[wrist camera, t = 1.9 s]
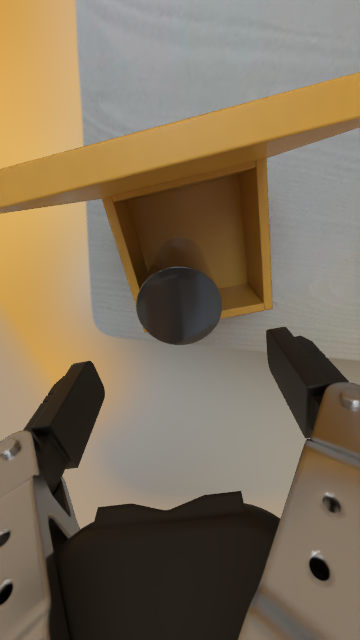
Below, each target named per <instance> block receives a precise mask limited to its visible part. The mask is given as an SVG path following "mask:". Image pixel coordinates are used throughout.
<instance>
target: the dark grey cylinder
mask: <svg viewBox="0 0 360 640" xmlns="http://www.w3.org/2000/svg"><path fill="white" fill-rule="evenodd" d="M136 309H137V315H138V318H139V320H140V322H141V324H142V326H143V327H144V328H145V330H146V331H147V332H148V333H149V334H150V335H152V336H153V337H154V338H156V339H158V340H160V341H162V342H165V343H168V344H174V345H185V344H190V343H194V342H197V341H199V340H201V339H203V338H204V337H206V336H207V335H208V334H209V333H210V332H211V331H212V330H213V329H214V328H215V326H216V325H217V323H218V321H219V319H220V316H221V312H222V299H221V294H220V292H219V289H218V287H217V284H216V282H215V280H214V277H213V275H212V273H211V270H210V268H209V265H208V263H207V261H206V258H205V256H204V253H203V251H202V250H201V248H200V247H199V246H198V245H197V244H196V243H195V242H193V241H191V240H189V239H186V238H173V239H170V240H168V241H166V242H165V243H163V244H162V245H161V246H160V247H159V249H158V250H157V252H156V254H155V256H154V258H153V261H152V263H151V265H150V267H149V270H148V272H147V274H146V277H145V279H144V281H143V283H142V286H141V288H140V290H139V293H138V296H137V301H136Z"/></svg>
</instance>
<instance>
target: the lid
mask: <svg viewBox="0 0 360 640" xmlns="http://www.w3.org/2000/svg"><path fill="white" fill-rule="evenodd" d="M359 127H360V72H359V73H355V74H351V75H347V76H344V77H340V78H336V79H333V80H329V81H325V82H321V83H318V84H314V85H310V86H307V87H303V88H299V89H295V90H292V91H288V92H284V93H281V94H277V95H273V96H270V97H266V98H262V99H258V100H255V101H251V102H247V103H244V104H240V105H236V106H232V107H229V108H225V109H221V110H218V111H214V112H210V113H206V114H203V115H199V116H195V117H192V118H188V119H184V120H180V121H177V122H173V123H169V124H166V125H162V126H158V127H154V128H151V129H147V130H143V131H140V132H136V133H132V134H129V135H125V136H121V137H117V138H114V139H110V140H106V141H103V142H99V143H95V144H91V145H88V146H84V147H80V148H77V149H73V150H69V151H65V152H62V153H58V154H54V155H51V156H47V157H43V158H40V159H36V160H32V161H28V162H25V163H21V164H17V165H14V166H10V167H6V168H2V169H0V213H7V212H13V211H21V210H27V209H34V208H41V207H48V206H54V205H62V204H68V203H75V202H82V201H89V200H96V199H102V198H106V197H110V196H114V195H118V194H122V193H126V192H130V191H134V190H138V189H142V188H146V187H150V186H155V185H159V184H163V183H167V182H171V181H175V180H179V179H183V178H187V177H191V176H195V175H199V174H203V173H207V172H212V171H216V170H220V169H224V168H228V167H232V166H236V165H240V164H244V163H248V162H252V161H256V160H260V159H264V158H268V157H271V156H274V155H277V154H280V153H283V152H286V151H290V150H293V149H296V148H299V147H302V146H305V145H308V144H311V143H314V142H317V141H320V140H323V139H326V138H329V137H332V136H335V135H338V134H341V133H344V132H347V131H350V130H353V129H356V128H359Z"/></svg>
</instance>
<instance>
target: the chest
mask: <svg viewBox="0 0 360 640" xmlns="http://www.w3.org/2000/svg"><path fill="white" fill-rule="evenodd" d="M102 201H103V204H104V207H105V210H106V213H107V216H108V220H109V223H110V226H111V229H112V232H113V235H114V238H115V241H116V244H117V248H118V251H119V254H120V257H121V260H122V263H123V266H124V269H125V272H126V276H127V279H128V282H129V285H130V288H131V291H132V294H133V297H134V301H135V304H136V301H137V296H138V293H139V290H140V288H141V286H142V283H143V281H144V279H145V277H146V274H147V272H148V270H149V267H150V265H151V263H152V261H153V258H154V256H155V254H156V252H157V250H158V249H159V247H160V246H161V245H162V244H163V243H165V242H166V241H168V240H170V239H173V238H186V239H189V240H191V241H193V242H195V243H196V244H197V245H198V246H199V247H200V248H201V250H202V251H203V253H204V256H205V258H206V261H207V263H208V265H209V268H210V270H211V273H212V275H213V277H214V280H215V282H216V284H217V287H218V289H219V292H220V294H221V299H222V312H221V316H220V319H221V318H226V317H232V316H237V315H243V314H248V313H253V312H259V311H264V310H269V309H272V308H273V304H272V280H271V256H270V232H269V207H268V183H267V159H266V158H264V159H260V160H256V161H252V162H248V163H244V164H240V165H236V166H232V167H228V168H224V169H220V170H216V171H212V172H207V173H203V174H199V175H195V176H191V177H187V178H183V179H179V180H175V181H171V182H167V183H163V184H159V185H155V186H150V187H146V188H142V189H138V190H134V191H130V192H126V193H122V194H118V195H114V196H110V197H106V198H102ZM143 329H144V332H145V333H146V332H147V331H146V330H145V328H144V327H143Z"/></svg>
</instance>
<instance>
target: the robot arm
mask: <svg viewBox="0 0 360 640" xmlns="http://www.w3.org/2000/svg"><path fill="white" fill-rule="evenodd" d="M266 339H267V355H268V364H269V368H270V371H271V373H272V375H273V377H274V379H275V381H276V383H277V384H278V387H279V389H280V391H281V392H282V394H283V396H284V398H285V400H286V402H287V404H288V406H289V408H290V410H291V412H292V414H293V416H294V417H295V419H296V421H297V423H298V425H299V427H300V429H301V431H302V433H303V435H304V437H305V438H310V439H307V440H306V442H305V444H304V447H303V450H302V453H301V456H300V459H299V463H298V466H297V469H296V472H295V475H294V478H293V482H292V485H291V488H290V491H289V494H288V497H287V500H286V503H285V507H284V510H283V513H282V516H281V519H280V518H278V517H277V516H275V515H274V514H272V513H270V512H268V511H266V510H264V509H262V508H259V507H256V506H254V505H250V504H245V503H243V498H242V494H241V491H237V492H228V493H219V494H211V495H204V496H201V497H199V498H197V499H194V500H192V501H190V502H187V503H185V504H182V505H180V506H178V507H175V508H173V509H171V510H159V509H155V508H150V507H145V506H141V505H136V504H123V505H115V506H106V507H98V510H97V513H96V517H95V521H94V522H92V523H90V524H89V525H87V526H85V527H84V528H82V529H81V530H80V528H79V525H78V523H77V520H76V517H75V513H74V510H73V506H72V503H71V500H70V496H69V492H68V489H67V486H66V482H65V480H64V478H63V477H62V475H63V473H64V470H65V469H70V468H78V465H79V463H80V460H81V458H82V455H83V453H84V450H85V447H86V445H87V442H88V440H89V437H90V434H91V432H92V429H93V427H94V424H95V421H96V418H97V416H98V414H99V411H100V408H101V406H102V403H103V400H104V397H105V390H104V386H103V384H102V382H101V380H100V378H99V375H98V373H97V371H96V369H95V367H94V364H93V363H92V362H91V361H87V362H81V363H75V364H73V365H72V366H71V367H70V369H69V370H68V372H67V373H66V375H65V376H63V377H62V378H61V379H60V380H59V381H58V382H57V383H56V384H54V386H53V387H52V389H51V390H50V392H49V393H48V396H46V398H45V399H44V401H43V403H42V404H41V405H40V406H39V408H38V409H37V411H36V412H35V414H34V415H33V417H32V418H31V419H30V421H29V423H28V424H27V425H26V427H25V428H24V430H23V431H19V432H16V433H13V434H12V435H10V436H8V437H6V438H5V439H3V440H2V441H1V442H0V640H360V385H358V384H355V383H350V382H349V381H348V380H347V379H346V378H345V377H344V376H343V375H342V374H341V373H340V371H339V370H338V369H337V368H336V367H335V366H334V365H333V364H332V363H331V362H330V361H329V359H328V358H326V357H325V355H324V354H323V353H322V352H321V351H319V349H318V347H317V346H316V345H315V344H314V343H313V342H312V341H310V340H308V339H306V338H304V337H302V336H297V337H294V336H293V335H292V334H291V333H290V331H289V330H288V329H287V328H286V327H280V328H275V329H269V330H267V331H266Z"/></svg>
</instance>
